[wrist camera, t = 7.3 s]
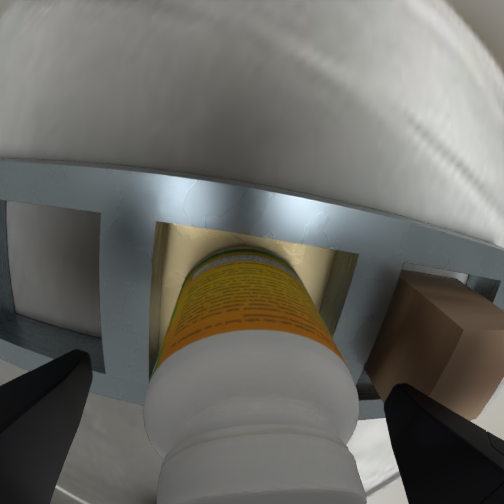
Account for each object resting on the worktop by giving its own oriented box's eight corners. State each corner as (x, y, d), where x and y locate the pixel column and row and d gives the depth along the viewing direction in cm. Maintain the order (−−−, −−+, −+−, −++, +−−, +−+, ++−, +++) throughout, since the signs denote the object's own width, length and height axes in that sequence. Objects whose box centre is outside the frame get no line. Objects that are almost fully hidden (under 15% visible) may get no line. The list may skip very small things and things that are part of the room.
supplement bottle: (165, 257, 12) (53, 460, 3) (295, 231, 12) (435, 413, 3) (198, 361, 14) (178, 557, 4) (309, 341, 14) (381, 529, 5)
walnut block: (424, 354, 15) (476, 418, 10) (355, 354, 15) (401, 436, 9) (456, 278, 14) (528, 329, 8) (387, 266, 13) (464, 330, 8)
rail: (435, 384, 16) (452, 406, 14) (3, 328, 13) (-19, 349, 11) (494, 243, 13) (522, 257, 11) (-10, 157, 10) (-42, 162, 8)
